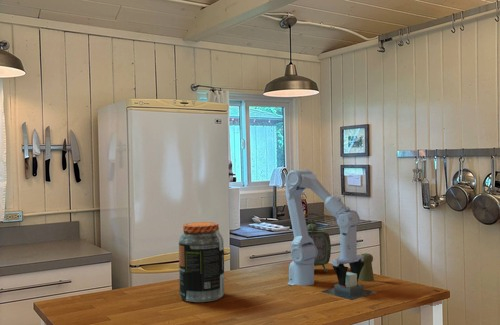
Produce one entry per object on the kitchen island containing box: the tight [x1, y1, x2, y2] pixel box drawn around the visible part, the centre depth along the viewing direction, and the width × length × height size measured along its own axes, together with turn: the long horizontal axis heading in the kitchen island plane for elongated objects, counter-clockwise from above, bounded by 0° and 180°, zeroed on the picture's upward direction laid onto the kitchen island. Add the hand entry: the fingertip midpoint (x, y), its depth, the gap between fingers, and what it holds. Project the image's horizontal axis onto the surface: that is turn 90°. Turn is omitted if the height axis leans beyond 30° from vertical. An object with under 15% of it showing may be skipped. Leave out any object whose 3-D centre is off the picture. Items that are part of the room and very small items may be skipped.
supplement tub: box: [178, 221, 225, 303], centre depth 174 cm, size 16×16×26 cm
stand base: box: [320, 283, 378, 301], centre depth 176 cm, size 14×14×4 cm
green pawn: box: [358, 252, 375, 282], centre depth 193 cm, size 6×6×11 cm
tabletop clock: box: [302, 212, 332, 273], centre depth 211 cm, size 14×9×25 cm, turn 90°
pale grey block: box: [345, 271, 358, 288], centre depth 176 cm, size 4×4×6 cm
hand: (348, 283), depth 176 cm, fingers open, 6 cm apart
